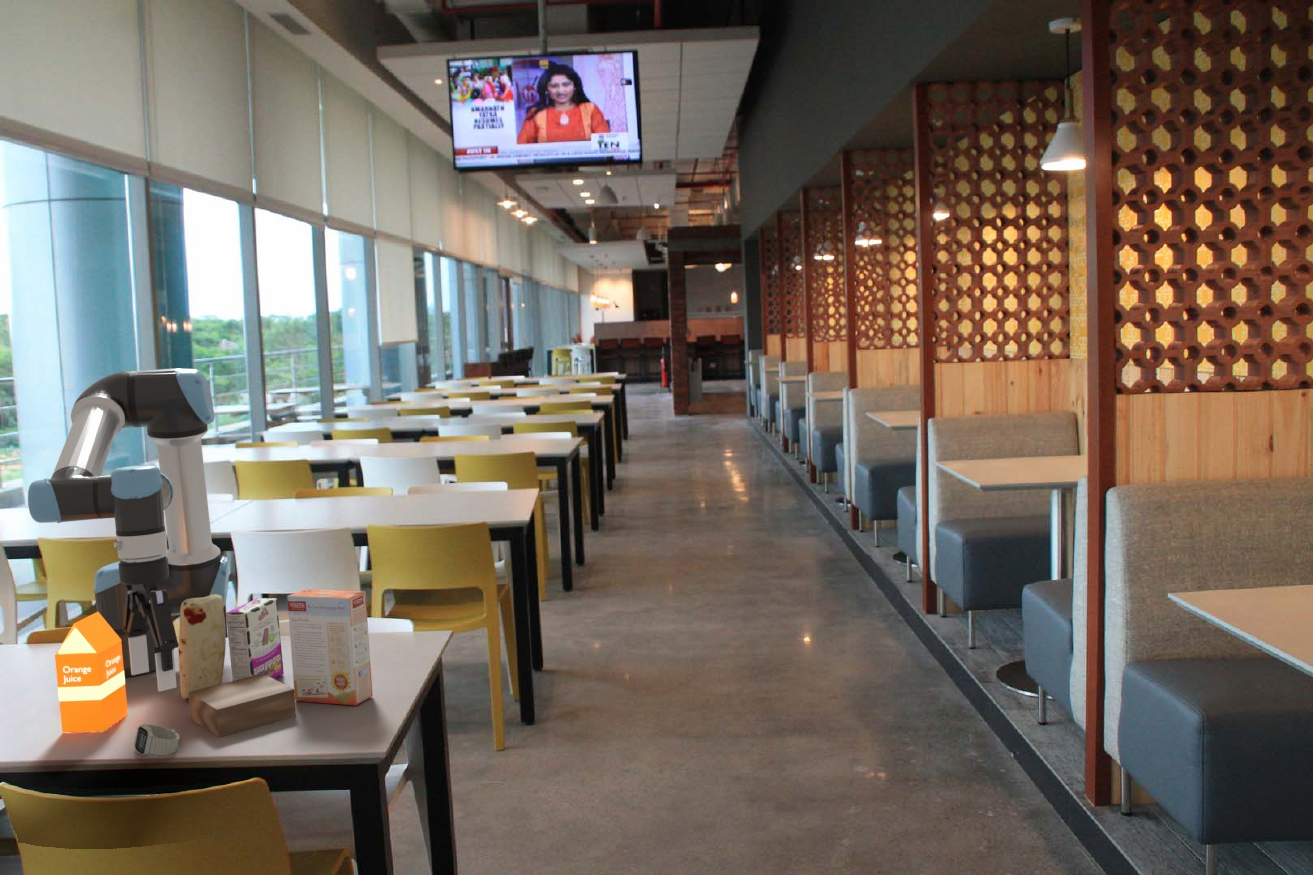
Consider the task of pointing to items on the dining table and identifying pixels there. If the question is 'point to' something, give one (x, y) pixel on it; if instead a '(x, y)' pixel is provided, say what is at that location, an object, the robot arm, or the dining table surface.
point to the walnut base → (241, 704)
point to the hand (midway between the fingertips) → (153, 680)
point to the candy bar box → (255, 639)
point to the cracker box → (330, 646)
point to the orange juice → (91, 677)
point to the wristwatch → (156, 740)
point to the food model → (201, 643)
